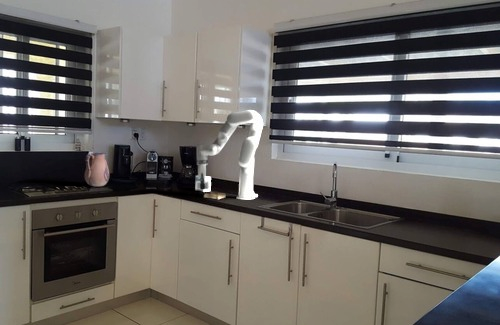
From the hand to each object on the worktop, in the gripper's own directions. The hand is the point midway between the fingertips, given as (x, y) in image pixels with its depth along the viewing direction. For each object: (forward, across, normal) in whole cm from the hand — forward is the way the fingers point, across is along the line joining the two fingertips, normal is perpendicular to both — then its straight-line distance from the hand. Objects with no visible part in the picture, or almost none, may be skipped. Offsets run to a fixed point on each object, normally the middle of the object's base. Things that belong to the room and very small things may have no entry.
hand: (202, 188), depth 286 cm
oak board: (+5, +5, +8) cm, 11 cm away
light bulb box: (+5, -21, -1) cm, 21 cm away
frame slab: (0, 0, 0) cm, 0 cm away
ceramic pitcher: (+1, -27, -81) cm, 85 cm away
